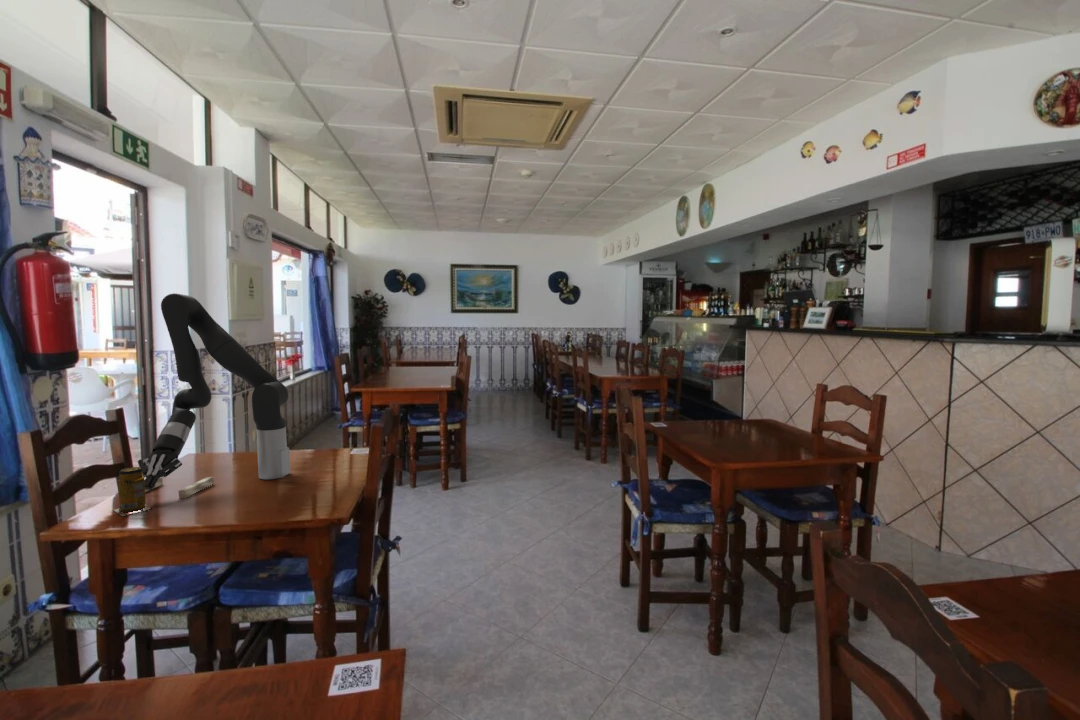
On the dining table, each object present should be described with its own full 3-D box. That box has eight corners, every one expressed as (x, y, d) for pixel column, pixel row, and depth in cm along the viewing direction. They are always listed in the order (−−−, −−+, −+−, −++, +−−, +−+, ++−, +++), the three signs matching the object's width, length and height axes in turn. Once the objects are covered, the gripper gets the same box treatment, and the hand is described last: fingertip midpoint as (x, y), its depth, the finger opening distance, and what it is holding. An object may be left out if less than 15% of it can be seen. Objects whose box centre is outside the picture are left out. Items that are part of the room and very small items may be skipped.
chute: (156, 484, 173) (156, 477, 172) (213, 484, 173) (213, 477, 173) (123, 499, 159) (123, 491, 158) (185, 498, 159) (185, 490, 159)
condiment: (143, 503, 155) (141, 464, 154) (153, 509, 150) (150, 469, 149) (113, 510, 149) (110, 470, 148) (122, 517, 144) (119, 475, 143)
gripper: (144, 433, 163) (116, 483, 152) (187, 432, 164) (162, 482, 152) (157, 445, 169) (131, 494, 158) (198, 445, 169) (175, 494, 158)
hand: (146, 488), depth 155 cm, fingers closed
